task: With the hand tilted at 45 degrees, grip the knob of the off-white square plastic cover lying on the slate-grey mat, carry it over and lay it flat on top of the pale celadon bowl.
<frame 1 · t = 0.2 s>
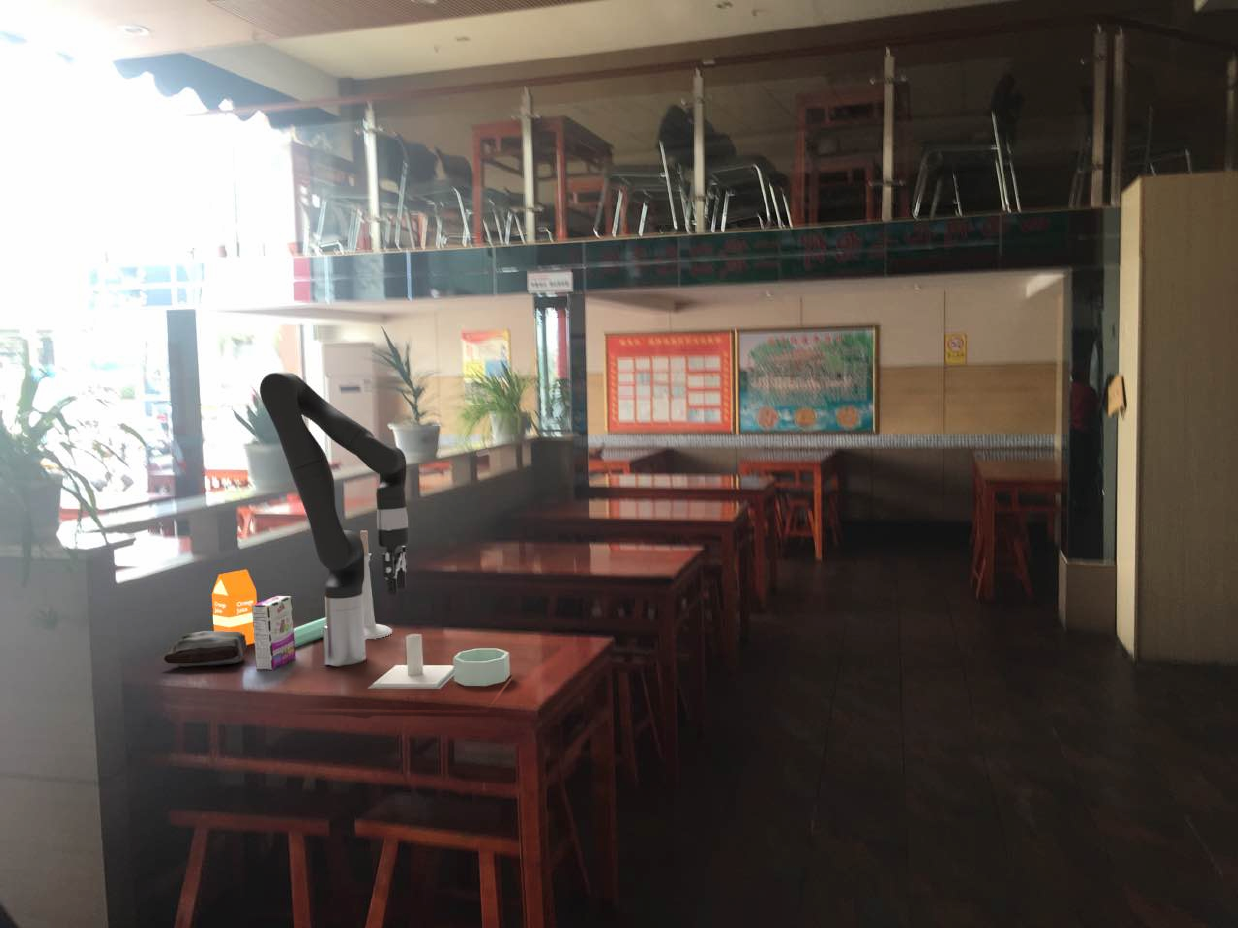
hand: (397, 591, 244), 18 cm above the table, tool pointing down, fingers open, 8 cm apart
candy bar box: (275, 664, 248), on the table
mat: (415, 679, 230), on the table
orange juice: (237, 644, 270), on the table
candlestick: (369, 635, 276), on the table
container: (306, 643, 270), on the table
cover: (415, 677, 230), point 1 cm above the table, touching mat
dark pillow-shaped pouch: (210, 665, 249), on the table
bowl: (482, 680, 228), on the table
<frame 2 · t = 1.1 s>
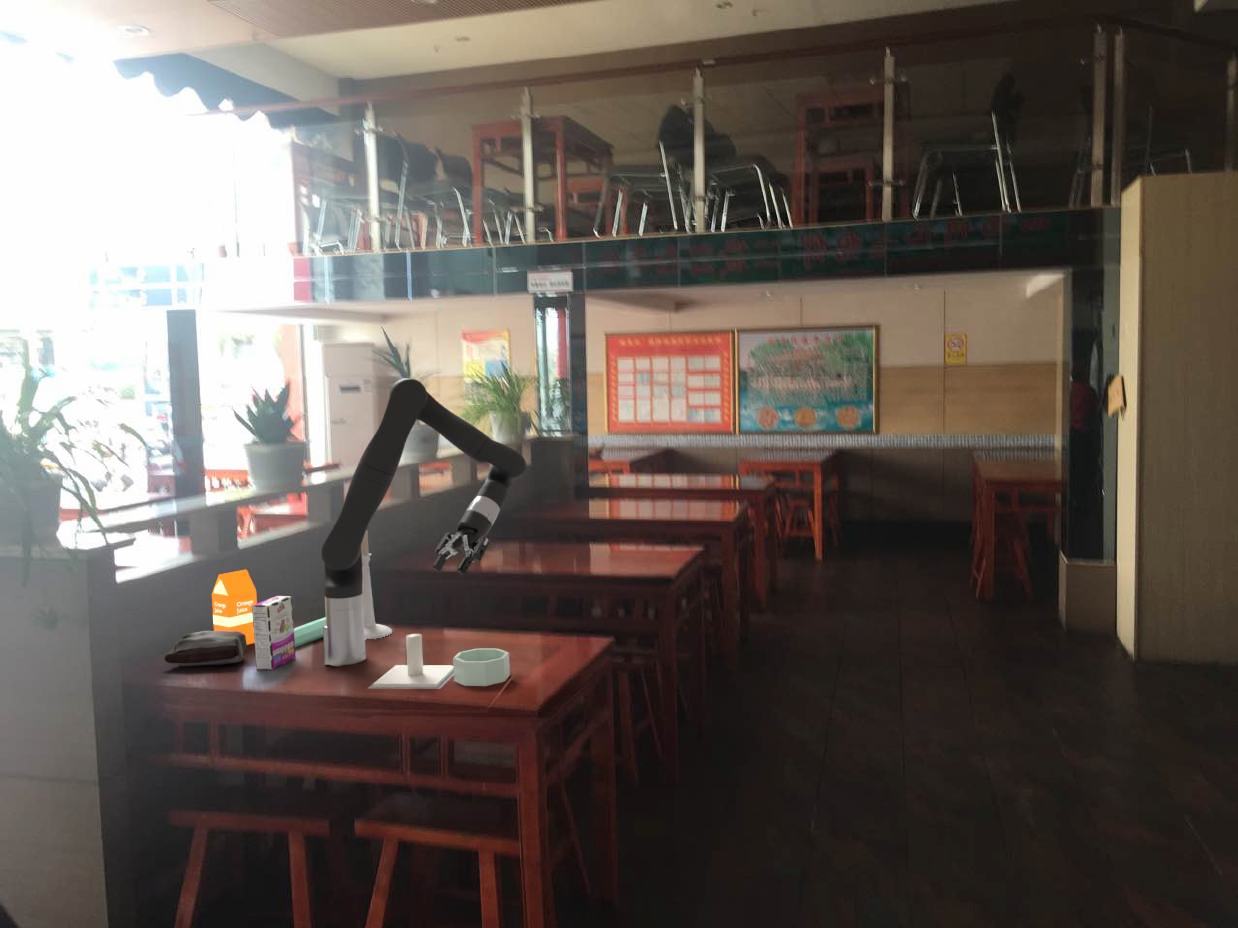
hand: (448, 570, 238), 24 cm above the table, tool tilted 45°, fingers open, 8 cm apart
nothing on the table moved.
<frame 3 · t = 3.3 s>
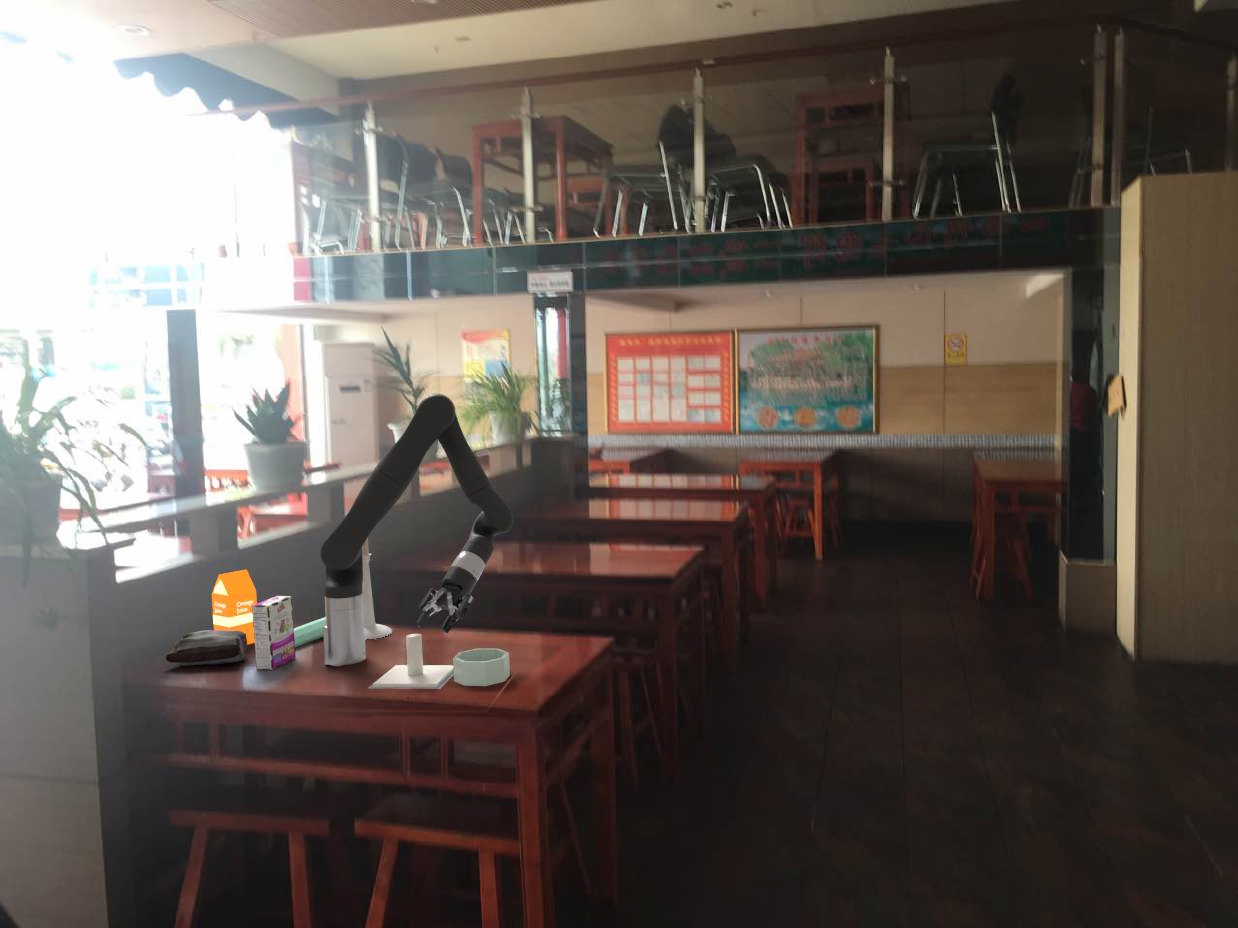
hand: (431, 629, 234), 11 cm above the table, tool tilted 45°, fingers open, 8 cm apart
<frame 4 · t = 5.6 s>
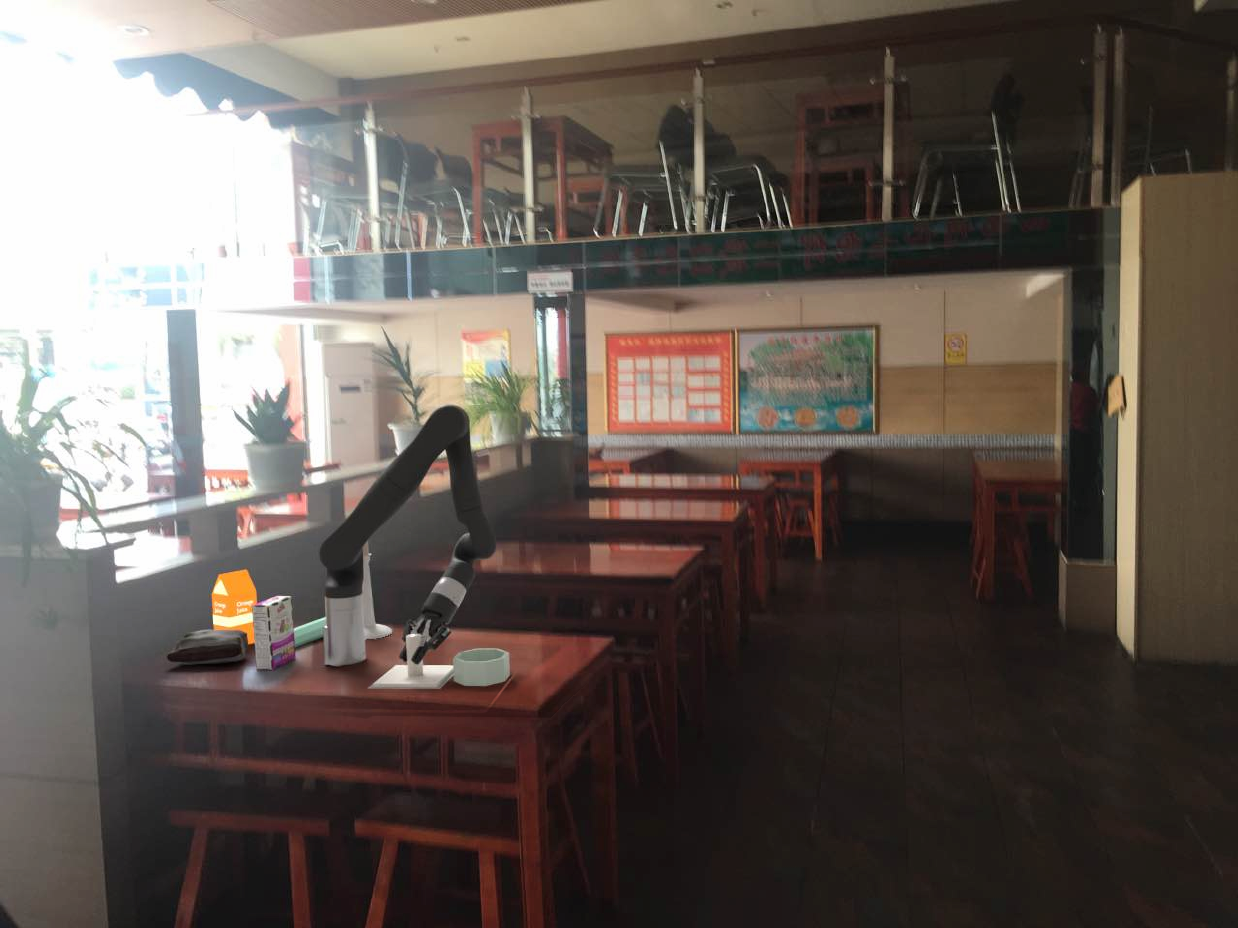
hand: (408, 661, 228), 5 cm above the table, tool tilted 45°, fingers closed on cover, 3 cm apart
cover: (415, 677, 230), point 1 cm above the table, touching gripper, mat
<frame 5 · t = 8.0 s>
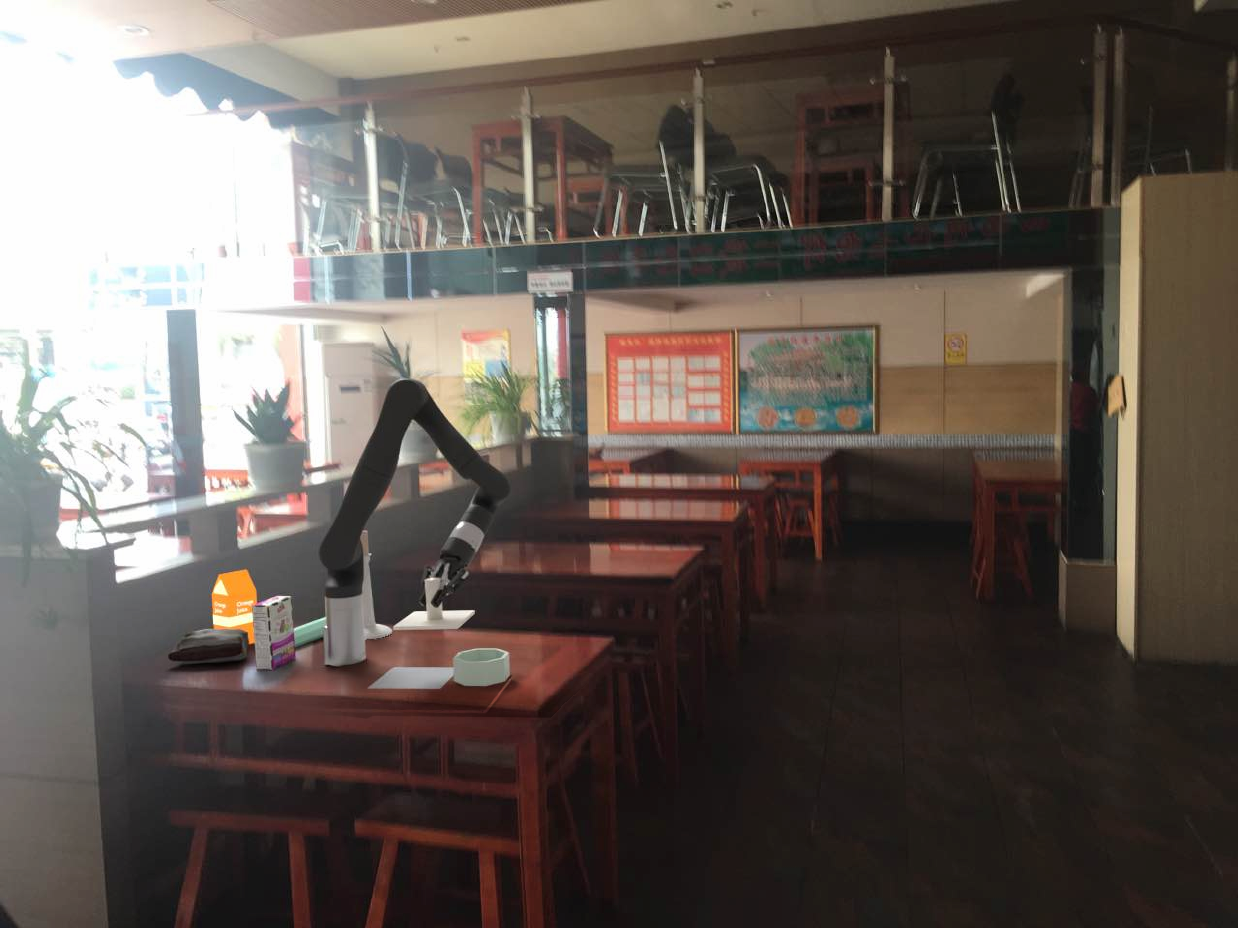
hand: (427, 604, 227), 18 cm above the table, tool tilted 45°, fingers closed on cover, 3 cm apart
cover: (435, 621, 229), point 14 cm above the table, touching gripper
when the fingers open (12 cm above the table, at t = 10.4 s): cover drops 2 cm, resting on bowl.
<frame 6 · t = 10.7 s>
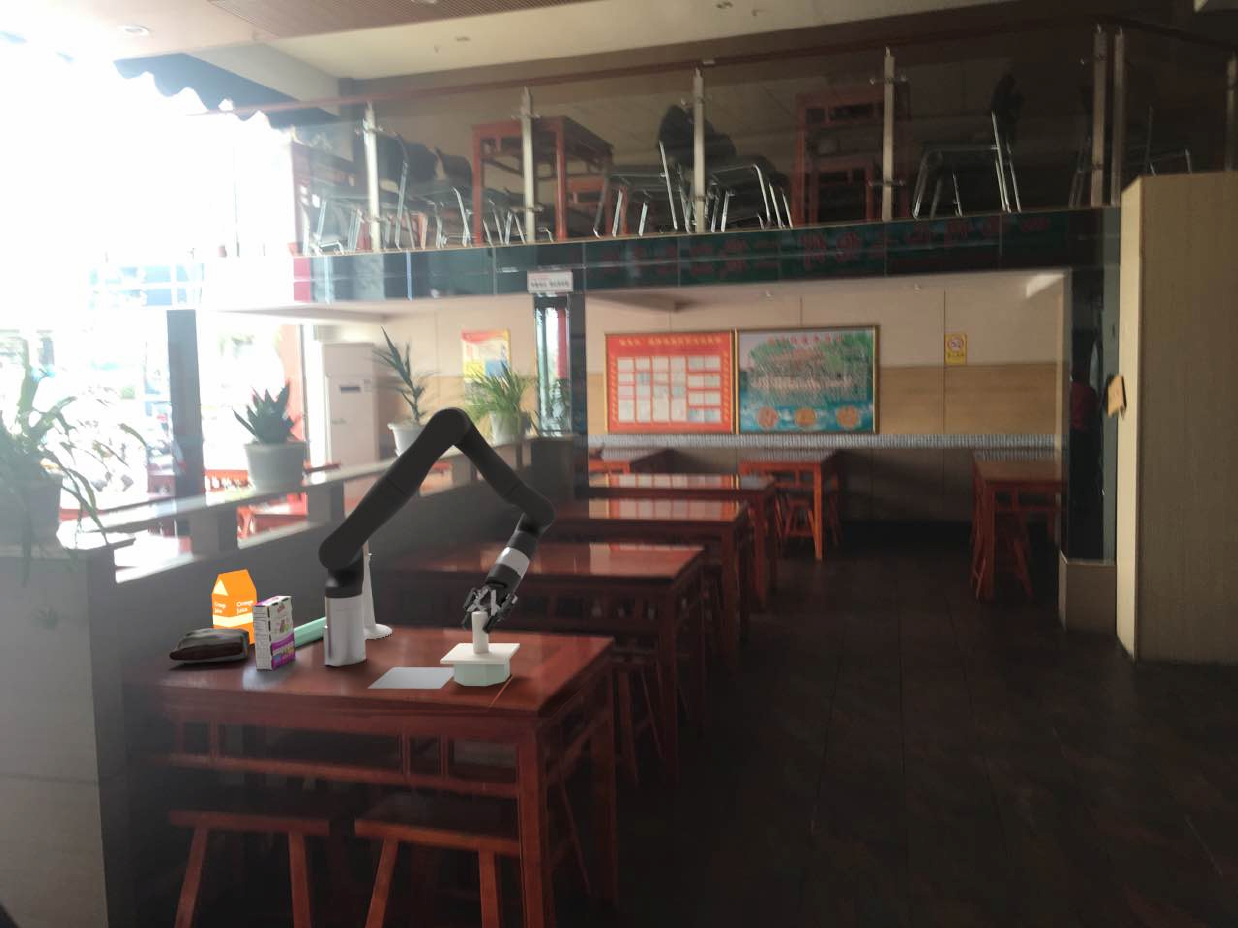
hand: (474, 629, 226), 12 cm above the table, tool tilted 45°, fingers open, 6 cm apart
cover: (481, 654, 228), point 6 cm above the table, touching bowl
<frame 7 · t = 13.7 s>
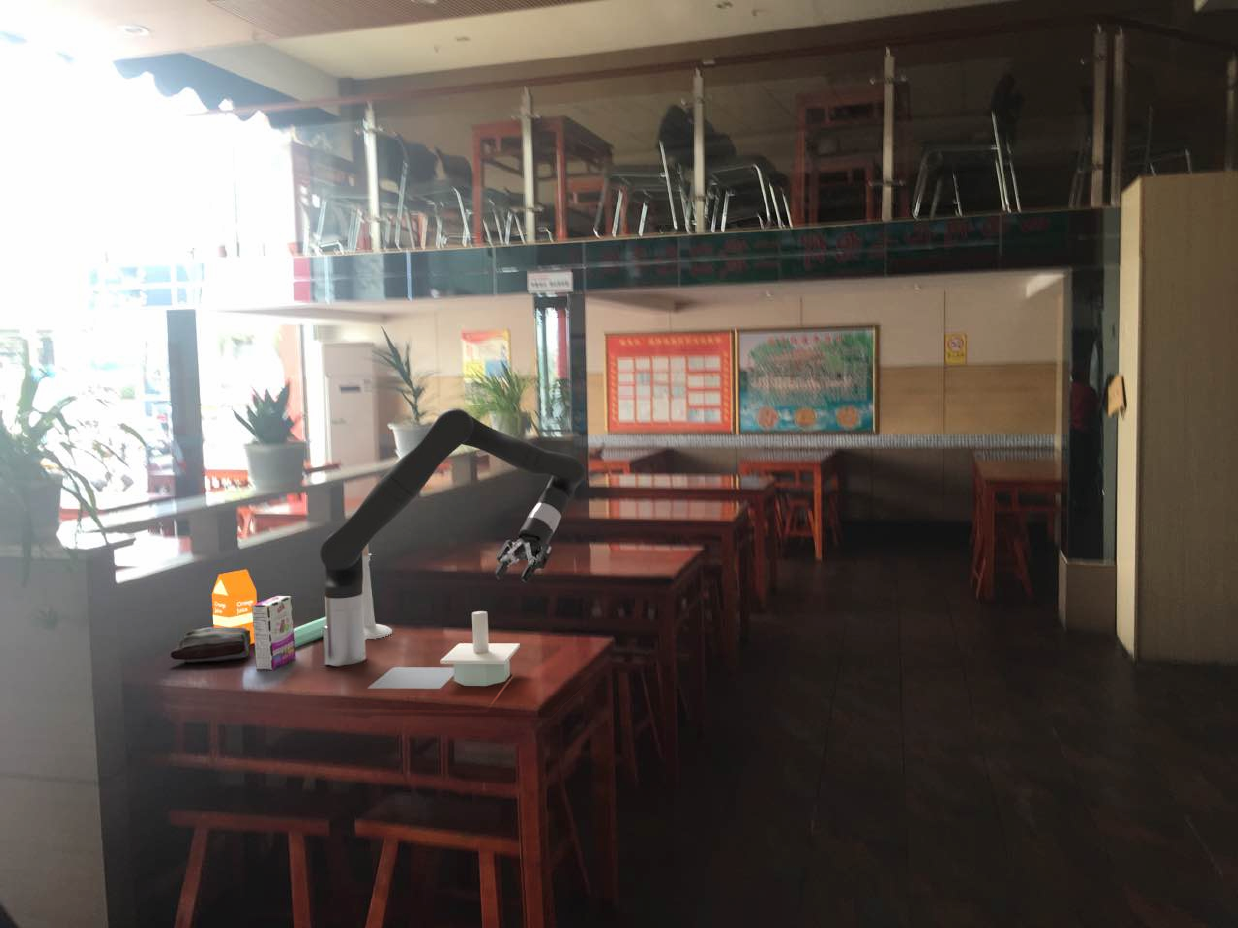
hand: (510, 578, 235), 22 cm above the table, tool tilted 45°, fingers open, 8 cm apart
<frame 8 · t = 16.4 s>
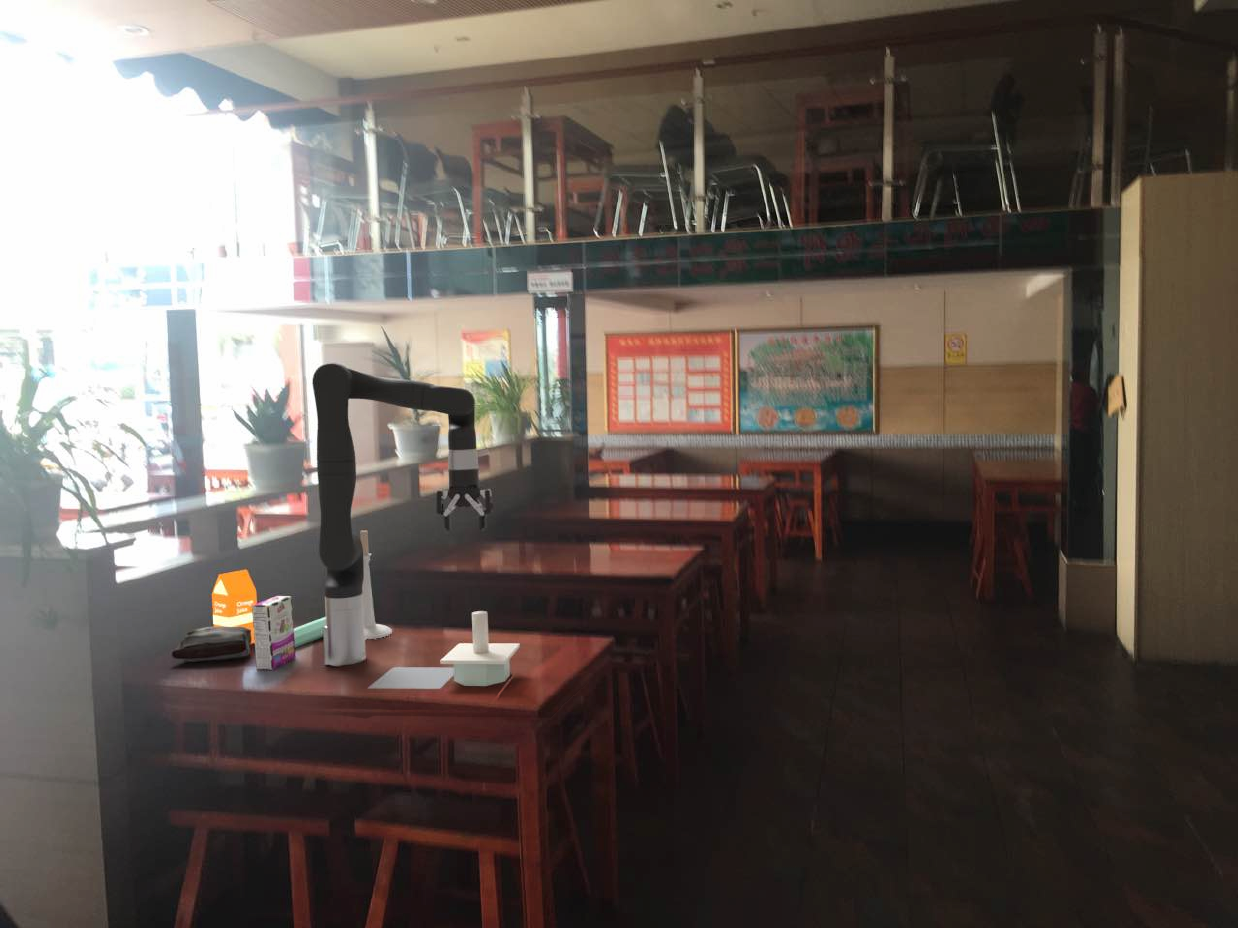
hand: (465, 530, 250), 32 cm above the table, tool pointing down, fingers open, 8 cm apart
at the end: cover 0.1 cm off-centre on the bowl, point 6.0 cm above the bowl's base; cover tilted 0°; the gripper is holding nothing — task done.
